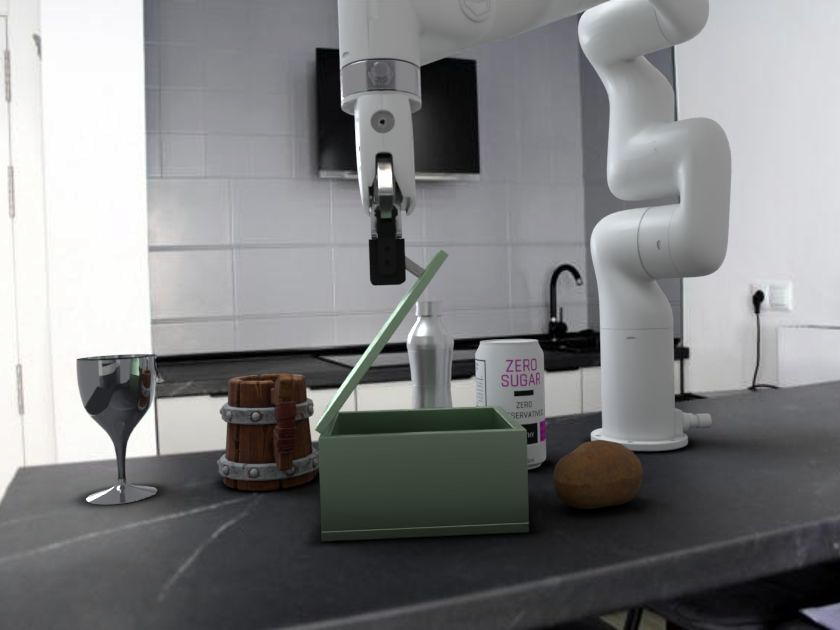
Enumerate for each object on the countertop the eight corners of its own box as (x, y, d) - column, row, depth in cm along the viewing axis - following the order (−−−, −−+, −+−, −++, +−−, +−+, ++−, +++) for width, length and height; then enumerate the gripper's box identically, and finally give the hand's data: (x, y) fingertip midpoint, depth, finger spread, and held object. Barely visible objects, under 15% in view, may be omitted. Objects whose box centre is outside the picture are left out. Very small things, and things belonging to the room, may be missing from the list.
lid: (436, 263, 73) (394, 233, 73) (449, 254, 60) (397, 217, 59) (333, 409, 73) (290, 380, 73) (322, 435, 59) (269, 398, 59)
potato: (536, 506, 68) (534, 442, 68) (605, 489, 73) (604, 429, 73) (587, 524, 62) (586, 453, 62) (658, 503, 68) (657, 439, 68)
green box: (502, 489, 74) (500, 405, 74) (529, 532, 60) (526, 429, 60) (333, 496, 73) (330, 411, 73) (321, 542, 60) (318, 437, 59)
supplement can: (506, 453, 91) (503, 338, 91) (559, 462, 85) (556, 339, 85) (464, 465, 86) (461, 342, 85) (518, 475, 80) (515, 343, 79)
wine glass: (83, 510, 71) (77, 362, 70) (80, 492, 78) (75, 357, 78) (166, 497, 74) (160, 357, 74) (156, 481, 82) (151, 352, 81)
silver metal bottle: (458, 445, 97) (454, 300, 97) (456, 456, 90) (452, 301, 90) (412, 445, 98) (408, 302, 97) (406, 456, 91) (402, 302, 90)
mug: (304, 458, 90) (306, 344, 87) (340, 505, 77) (344, 374, 75) (210, 470, 85) (209, 350, 82) (233, 522, 72) (232, 382, 70)
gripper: (427, 61, 57) (434, 281, 58) (415, 115, 75) (421, 284, 75) (335, 62, 57) (343, 284, 57) (345, 116, 74) (351, 287, 75)
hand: (387, 282), depth 66 cm, fingers closed on lid, 6 cm apart
